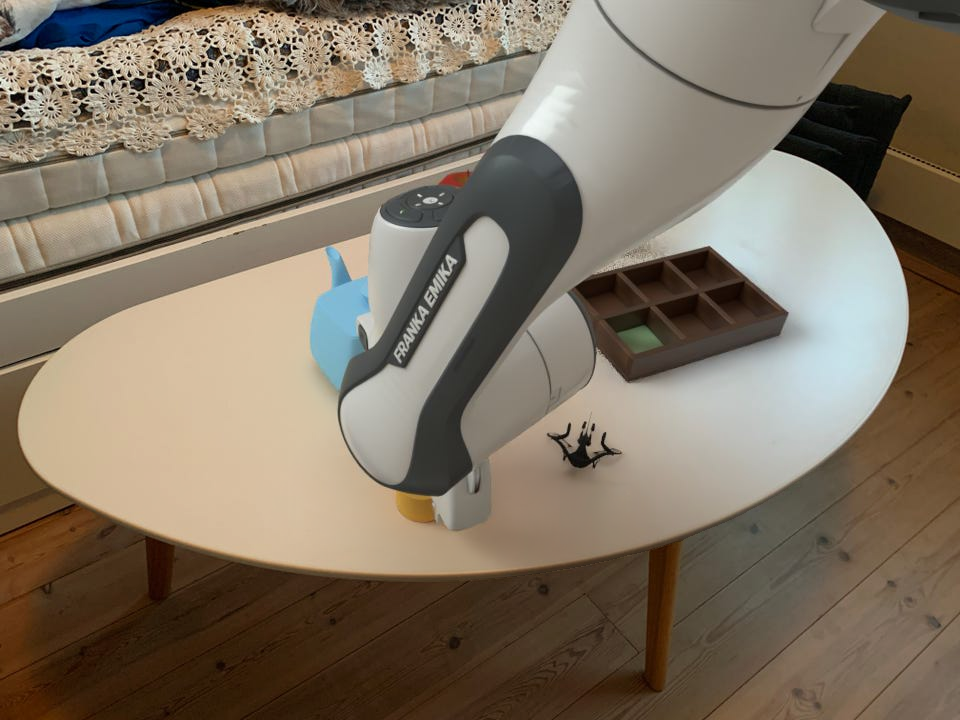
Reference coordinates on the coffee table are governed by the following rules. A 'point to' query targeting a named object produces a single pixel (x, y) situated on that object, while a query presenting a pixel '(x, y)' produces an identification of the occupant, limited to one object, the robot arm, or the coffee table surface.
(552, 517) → the coffee table surface
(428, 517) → the cylinder
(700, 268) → the grid
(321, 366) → the teapot
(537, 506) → the coffee table surface
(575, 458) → the creature
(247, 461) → the coffee table surface
